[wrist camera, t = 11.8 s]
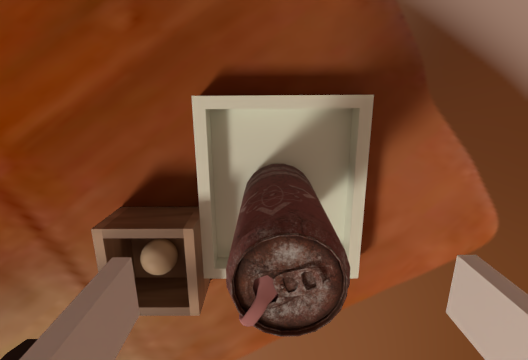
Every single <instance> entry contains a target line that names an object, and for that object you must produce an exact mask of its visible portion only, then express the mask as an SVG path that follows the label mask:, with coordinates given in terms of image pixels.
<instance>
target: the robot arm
mask: <svg viewBox="0 0 528 360" xmlns="http://www.w3.org/2000/svg"><path fill="white" fill-rule="evenodd" d="M446 313H447V314H448V315H449V317H450V318H451V319H452V320H453V321H454V323H455V324H456V325H457V326H458V327H459V329H460V330H461V331H462V332H463V333H464V335H465V336H466V337H467V338H468V340H469V341H470V342H471V343H472V344H473V346H474V347H475V348H476V349H477V350H478V352H479V353H480V354H481V355H482V356H483V358H484V359H485V360H528V294H526V293H525V292H524V291H522V290H521V289H519V287H517V286H516V285H515V284H513V283H512V282H511V281H509V280H508V279H507V278H506V277H504V276H503V275H502V274H500V273H499V272H498V271H496V270H495V269H494V268H492V267H491V266H490V265H488V264H487V263H486V262H485V261H483V260H482V259H481V258H480V257H478V256H477V255H457V259H456V264H455V270H454V274H453V279H452V284H451V289H450V294H449V299H448V304H447V309H446ZM139 315H140V312H139V306H138V299H137V292H136V285H135V279H134V272H133V265H132V259H131V257H112V258H111V259H110V260H109V262H108V263H107V264H106V265H105V266H104V267H103V268H102V269H101V270H100V271H99V273H98V274H97V275H96V276H95V277H94V278H93V279H92V280H91V281H90V282H89V284H88V285H87V286H86V287H85V288H84V289H83V290H82V291H81V292H80V293H79V295H78V296H77V297H76V298H75V299H74V300H73V301H72V302H71V303H70V304H69V306H68V307H67V308H66V309H65V310H64V311H63V312H62V313H61V314H60V315H59V317H58V318H57V319H56V320H55V321H54V322H53V323H52V324H51V325H50V326H49V328H48V329H47V330H46V331H45V332H44V333H43V334H42V335H41V336H40V337H39V339H27V340H25V341H24V342H22V343H21V344H20V345H18V346H17V347H15V348H14V349H12V350H11V351H9V352H8V353H7V354H5V356H4V357H3V358H2V359H1V360H115V358H116V356H117V354H118V353H119V351H120V349H121V347H122V345H123V344H124V342H125V340H126V338H127V336H128V335H129V333H130V331H131V329H132V327H133V326H134V324H135V322H136V320H137V318H138V317H139Z"/></svg>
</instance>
